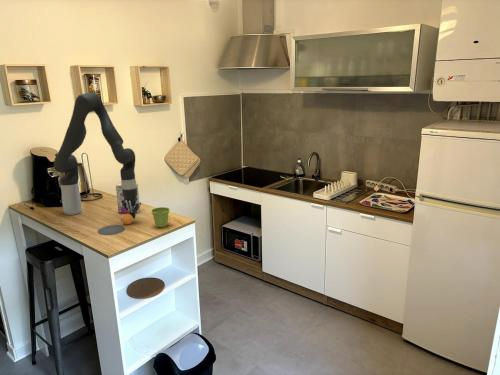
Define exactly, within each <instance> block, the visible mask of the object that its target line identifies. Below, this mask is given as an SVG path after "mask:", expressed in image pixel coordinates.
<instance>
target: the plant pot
mask: <svg viewBox="0 0 500 375" xmlns="http://www.w3.org/2000/svg"><path fill="white" fill-rule="evenodd" d="M170 209H171V208H170V207H162V206H160V207H154V208H152V209H151V210H150V212H151V214H152V216H153V220H154V225H155V228H159V227H161V228H166V227H167V226H168V224H169V223H168V222H169V213H170V211H171V210H170Z"/></svg>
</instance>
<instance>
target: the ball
mask: <svg viewBox="0 0 500 375" xmlns="http://www.w3.org/2000/svg"><path fill="white" fill-rule="evenodd" d="M133 220H134V219H133V217H132V215H131V214H129V213H124V214H123V215H122V217H121V221H122V223H123V224H125V225H130V224H132V222H133Z"/></svg>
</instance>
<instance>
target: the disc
mask: <svg viewBox="0 0 500 375" xmlns="http://www.w3.org/2000/svg"><path fill="white" fill-rule="evenodd" d="M125 228H126V227H125V226H124V225H121V224H112V225H106V226H102V227H101V228H99V229H98V230H97V233H98V234H99V235H102V236H113V235H117V234H119V233H122V232H124V231H125Z"/></svg>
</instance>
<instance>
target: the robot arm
mask: <svg viewBox="0 0 500 375" xmlns="http://www.w3.org/2000/svg"><path fill="white" fill-rule="evenodd" d="M72 110H73V111H72V115H71V118H70V121H69V124H68V127H67V129H66V132H65V135H64V138H63V140H62V143H61V145H60V148H59V149H58V152H57V154H56V155H55V158H54V160H53V169H54V170H55V172H57V173H58V174H64V173H65V175H64V176H63V177H62V178H60V180H59V182H60V184H59V185H60V189H61V203H62V210H63V213H64V214H65V215H68V216H71V215H77V214H80V213H82V212H83V208H82V200H81V199H82V198H81V192H80V186H79V185H80V184H79V179H80V178H79V176H80V173H79V163H78V160H77V158H76V156H75V155H74V152H76V151H77V150H78V149H79V148H80V147H81V146H82V145H83V143H84V140H85V138H86V136H87V127H86V125H85V122H86V119H87V116H88V115H89V114H91V113H92V112H94V113H95V115H96V116H97V117H98V120H99V122H100V129H101V134H102V136H103V138H104V139H105V141H106V142H107V143H108V145H109V146H110V149H111V152H112V154H113V156H114V159H115V160H116V161H117V162H118V163H119V164H120V165H122V167H121V168H120V172H119V173H120V184H121V186H122V194H123V197H124V200H122V201H121V203H122V204H123V206H124V207H125V209H126V210H128V211H129V213H128V214H131V215H132V217H133V220H134V219H135V218H136V216H137V214H136V213H135V211H137V210H138V209H139V207H141V206H142V202H140V201H139V202H138V201H137V200H138V199H137V194H138V193H139V192H138V193H137V185H136V184H137V180H136V173H135V167H136V153H135V151H134V150H133V149H132V148H130V147H129V148H124V146H123V144H124V139H123V138H122V136H121V134H120V133H119V131H118V130H117V128H116V127H115V126H114V124H113V121H112V120H111V118H110V114H108V111H107V109H106V107H105V105H104V103H103V100H102V98H101V97H100V96H99V94H97V93H96V92H93V91H92V92H86V93H81V94H79V95H78V96H76V99H75V101H74V105H73V109H72Z"/></svg>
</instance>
